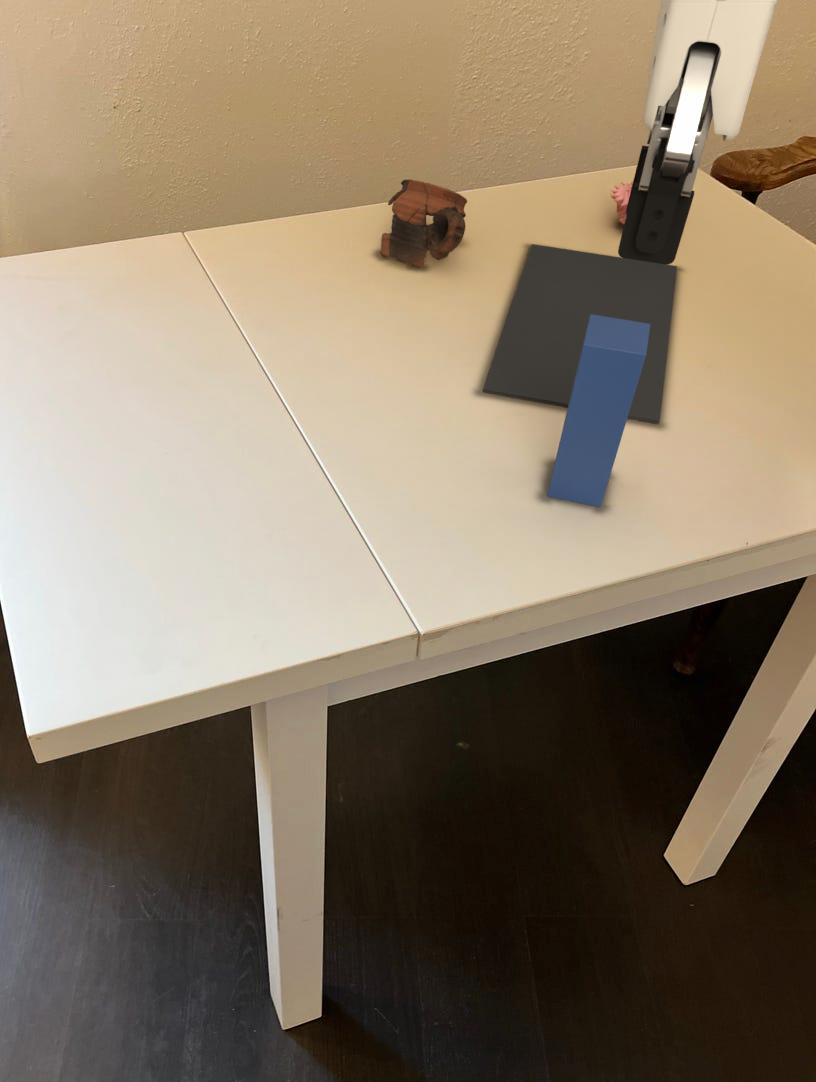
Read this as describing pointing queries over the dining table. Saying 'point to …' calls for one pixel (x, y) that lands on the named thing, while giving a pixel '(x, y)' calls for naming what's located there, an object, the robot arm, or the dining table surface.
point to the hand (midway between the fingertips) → (649, 235)
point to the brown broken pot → (424, 223)
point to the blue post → (598, 408)
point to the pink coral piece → (622, 199)
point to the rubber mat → (580, 324)
